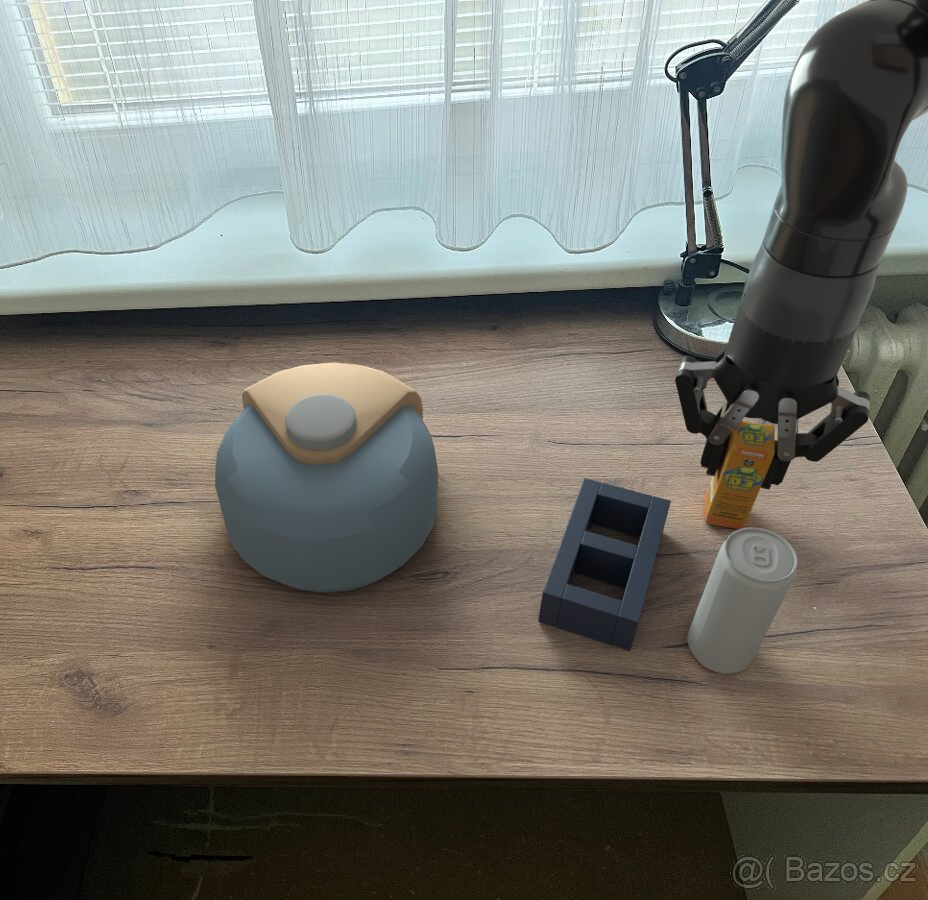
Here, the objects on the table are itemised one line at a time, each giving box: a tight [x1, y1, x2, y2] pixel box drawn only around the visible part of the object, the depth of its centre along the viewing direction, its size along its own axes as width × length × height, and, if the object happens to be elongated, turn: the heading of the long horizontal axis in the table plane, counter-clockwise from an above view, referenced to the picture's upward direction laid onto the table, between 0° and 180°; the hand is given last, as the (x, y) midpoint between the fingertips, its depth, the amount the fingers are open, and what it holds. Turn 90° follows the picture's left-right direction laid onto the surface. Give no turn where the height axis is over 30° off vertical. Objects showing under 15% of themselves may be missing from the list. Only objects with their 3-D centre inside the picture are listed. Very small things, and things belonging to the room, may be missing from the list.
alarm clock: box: [214, 362, 439, 594], centre depth 76 cm, size 19×20×12 cm
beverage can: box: [686, 527, 799, 675], centre depth 63 cm, size 5×5×12 cm
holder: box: [538, 477, 672, 652], centre depth 71 cm, size 7×13×4 cm, turn 154°
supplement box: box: [704, 420, 776, 530], centre depth 72 cm, size 3×3×10 cm
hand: (739, 474), depth 72 cm, fingers closed on supplement box, 3 cm apart
